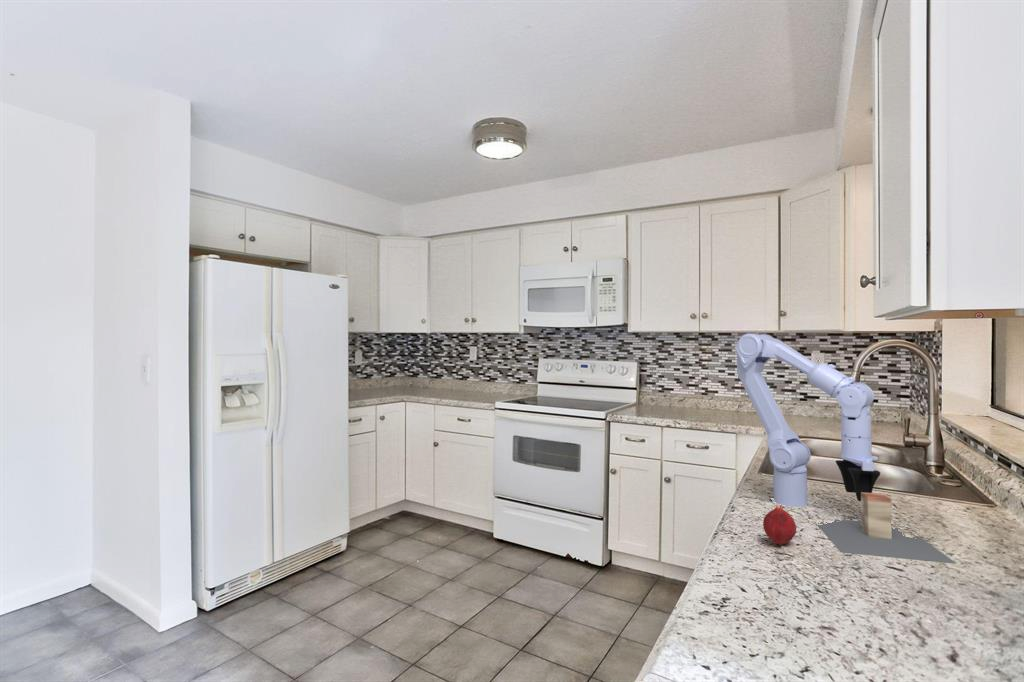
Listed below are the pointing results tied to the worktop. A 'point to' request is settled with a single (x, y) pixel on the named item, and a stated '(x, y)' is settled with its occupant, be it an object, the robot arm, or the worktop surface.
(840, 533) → the mat
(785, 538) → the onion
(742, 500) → the worktop surface
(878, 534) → the block
